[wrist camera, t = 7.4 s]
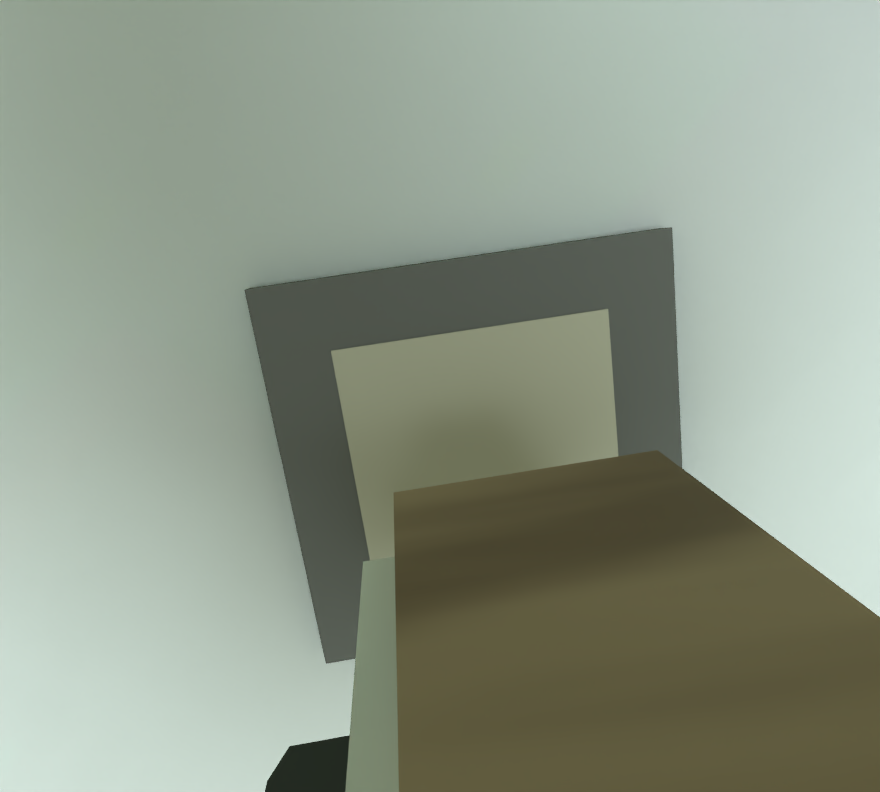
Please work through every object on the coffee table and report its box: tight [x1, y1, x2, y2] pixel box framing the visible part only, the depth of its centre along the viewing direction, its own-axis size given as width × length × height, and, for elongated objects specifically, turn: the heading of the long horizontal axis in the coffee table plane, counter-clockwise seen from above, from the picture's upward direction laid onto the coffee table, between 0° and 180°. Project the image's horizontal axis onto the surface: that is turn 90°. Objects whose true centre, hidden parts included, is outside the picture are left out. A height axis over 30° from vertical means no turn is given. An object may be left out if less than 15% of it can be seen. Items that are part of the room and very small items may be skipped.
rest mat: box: [245, 228, 682, 663], centre depth 19 cm, size 12×12×1 cm
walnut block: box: [393, 450, 880, 792], centre depth 8 cm, size 5×5×8 cm
